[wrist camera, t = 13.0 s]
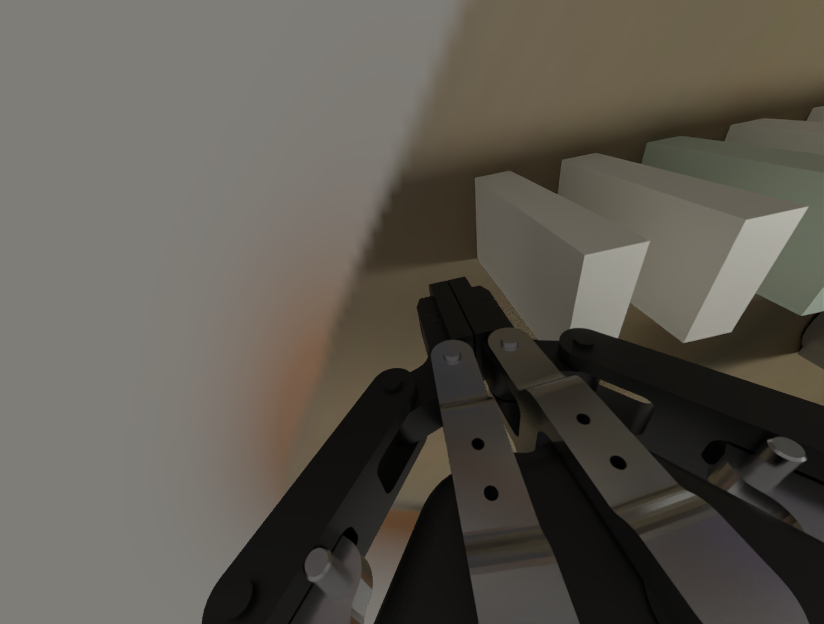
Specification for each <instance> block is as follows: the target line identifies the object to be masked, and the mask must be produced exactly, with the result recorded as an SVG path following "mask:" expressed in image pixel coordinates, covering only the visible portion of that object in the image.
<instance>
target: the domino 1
mask: <svg viewBox="0 0 824 624" xmlns="http://www.w3.org/2000/svg"><path fill="white" fill-rule="evenodd" d="M475 201H476V234H477V259H478V260H479V262H480V263H481V264H482V266H483V267H484V268H485V270H486V271H487V272H488V274H489V275H490V276H491V278H492V279H493V280H494V282H495V283H496V284H497V286H498V287H499V288H500V290H501V291H502V292H503V294H504V295H505V297H506V298H507V299H508V301H509V302H510V303H511V305H512V306H513V307H514V309H515V310H516V311H517V313H518V314H519V315H520V317H521V318H522V319H523V321H524V322H525V323H526V325H527V326H528V327H529V329H530V330H531V331H532V333H533V334H534V335H535V337H536V338H537V339H538V340H553V341H559V338H560V336H561V334H562V333H563V332H564V331H566V330H568V329H572V328H586V329H590V330H594V331H597V332H600V333H603V334H606V335H609V336H612V337H615V338H618V337H619V334H620V330H621V327H622V324H623V321H624V318H625V315H626V312H627V309H628V306H629V303H630V300H631V297H632V294H633V291H634V288H635V285H636V282H637V279H638V276H639V273H640V270H641V267H642V264H643V261H644V258H645V255H646V252H647V249H648V246H649V243H650V241H649V240H647V239H645V238H643V237H641V236H639V235H637V234H635V233H633V232H631V231H629V230H627V229H625V228H623V227H621V226H619V225H618V224H616V223H614V222H612V221H610V220H608V219H606V218H604V217H602V216H600V215H598V214H596V213H594V212H592V211H590V210H588V209H586V208H584V207H582V206H580V205H578V204H576V203H574V202H572V201H570V200H568V199H566V198H564V197H562V196H560V195H558V194H556V193H554V192H552V191H550V190H548V189H546V188H544V187H542V186H540V185H538V184H536V183H534V182H532V181H530V180H528V179H526V178H524V177H522V176H520V175H518V174H516V173H514V172H512V171H505V172H500V173H495V174H490V175H486V176H481V177H476V178H475Z"/></svg>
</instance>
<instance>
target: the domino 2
mask: <svg viewBox="0 0 824 624" xmlns="http://www.w3.org/2000/svg"><path fill="white" fill-rule="evenodd" d="M558 195H560V196H562V197H564V198H566V199H568V200H570V201H572V202H574V203H576V204H578V205H580V206H582V207H584V208H586V209H588V210H590V211H592V212H594V213H596V214H598V215H600V216H602V217H604V218H606V219H608V220H610V221H612V222H614V223H616V224H618V225H619V226H621V227H623V228H625V229H627V230H629V231H631V232H633V233H635V234H637V235H639V236H641V237H643V238H645V239H647V240H649V241H650V243H649V246H648V249H647V252H646V255H645V258H644V261H643V264H642V267H641V270H640V273H639V276H638V279H637V282H636V285H635V288H634V291H633V294H632V297H631V300H630V303H631V304H632V305H634V306H635V307H636V308H638V309H639V310H640V311H642V312H643V313H644V314H646V315H647V316H648V317H650V318H651V319H652V320H653V321H655V322H656V323H657V324H659V325H660V326H661V327H663V328H664V329H665V330H667V331H668V332H669V333H671V334H672V335H673V336H674V337H676V338H677V339H678V340H680V341H681V342H682V343H686V342H691V341H695V340H699V339H704V338H708V337H713V336H717V335H721V334H726V333H730V332H732V330H733V329H734V327H735V325H736V324H737V322H738V320H739V319H740V317H741V316H742V314H743V312H744V311H745V309H746V307H747V306H748V304H749V303H750V301H751V299H752V298H753V296H754V295H755V293H756V291H757V290H758V288H759V286H760V285H761V283H762V282H763V280H764V278H765V277H766V275H767V273H768V272H769V270H770V269H771V267H772V265H773V264H774V262H775V260H776V259H777V257H778V256H779V254H780V252H781V251H782V249H783V247H784V246H785V244H786V243H787V241H788V239H789V238H790V236H791V235H792V233H793V231H794V230H795V228H796V226H797V225H798V223H799V222H800V220H801V218H802V217H803V215H804V213H805V212H806V210H807V209H808V207H809V206H806V205H802V204H798V203H794V202H790V201H786V200H782V199H778V198H774V197H770V196H766V195H762V194H758V193H754V192H750V191H746V190H742V189H738V188H734V187H730V186H726V185H722V184H718V183H714V182H710V181H707V180H703V179H699V178H695V177H691V176H687V175H683V174H679V173H675V172H671V171H667V170H663V169H659V168H655V167H651V166H647V165H643V164H639V163H635V162H631V161H627V160H623V159H619V158H615V157H611V156H607V155H603V154H599V153H592V154H588V155H583V156H578V157H573V158H568V159H563V160H562V163H561V170H560V178H559V186H558Z"/></svg>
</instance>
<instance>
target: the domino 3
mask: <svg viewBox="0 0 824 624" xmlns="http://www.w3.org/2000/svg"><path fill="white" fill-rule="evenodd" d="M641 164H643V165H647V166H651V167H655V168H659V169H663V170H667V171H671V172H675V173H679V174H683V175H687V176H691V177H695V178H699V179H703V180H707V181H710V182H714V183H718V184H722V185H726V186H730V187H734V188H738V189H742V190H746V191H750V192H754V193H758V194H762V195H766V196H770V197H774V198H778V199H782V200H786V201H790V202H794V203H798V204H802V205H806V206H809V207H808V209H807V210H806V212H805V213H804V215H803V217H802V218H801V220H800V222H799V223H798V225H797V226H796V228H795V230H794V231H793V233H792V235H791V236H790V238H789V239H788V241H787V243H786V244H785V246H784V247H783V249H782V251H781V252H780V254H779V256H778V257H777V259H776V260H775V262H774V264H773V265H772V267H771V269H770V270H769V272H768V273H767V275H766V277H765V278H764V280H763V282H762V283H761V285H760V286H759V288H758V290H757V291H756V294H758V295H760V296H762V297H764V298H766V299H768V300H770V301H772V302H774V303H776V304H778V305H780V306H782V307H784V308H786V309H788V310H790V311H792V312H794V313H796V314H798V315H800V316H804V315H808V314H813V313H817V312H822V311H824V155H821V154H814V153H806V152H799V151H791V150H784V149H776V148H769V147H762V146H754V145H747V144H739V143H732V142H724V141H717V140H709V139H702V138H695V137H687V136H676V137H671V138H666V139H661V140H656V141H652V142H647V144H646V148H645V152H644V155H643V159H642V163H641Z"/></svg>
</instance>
